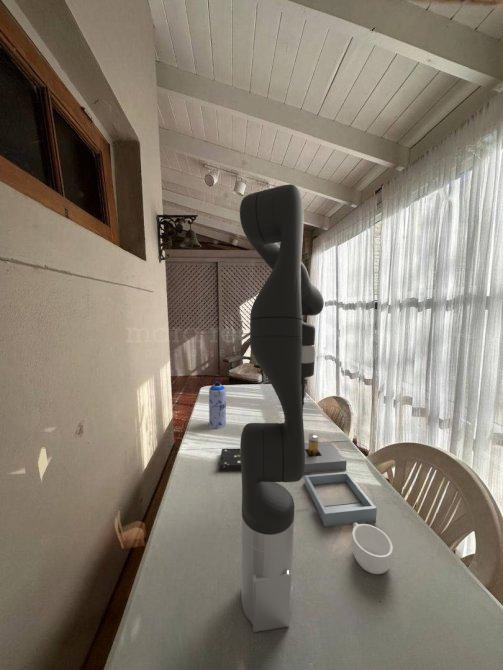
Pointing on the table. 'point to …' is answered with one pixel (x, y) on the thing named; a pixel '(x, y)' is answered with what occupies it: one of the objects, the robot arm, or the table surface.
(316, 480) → the parts tray
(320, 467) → the board
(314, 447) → the fuse
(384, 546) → the teacup
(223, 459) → the disk drive
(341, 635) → the table surface
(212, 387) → the aerosol can
